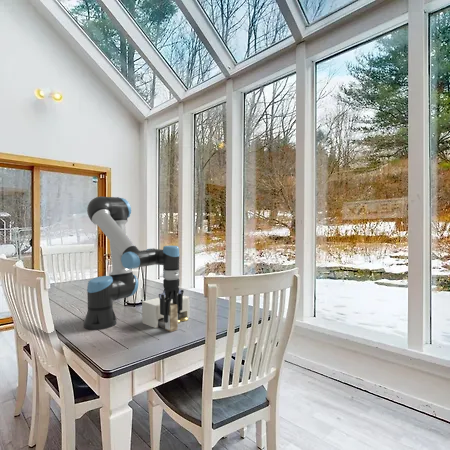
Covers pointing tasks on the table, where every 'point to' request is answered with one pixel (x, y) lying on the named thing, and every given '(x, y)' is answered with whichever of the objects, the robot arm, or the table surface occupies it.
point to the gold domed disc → (183, 318)
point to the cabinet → (153, 310)
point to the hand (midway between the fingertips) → (171, 327)
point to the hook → (171, 318)
